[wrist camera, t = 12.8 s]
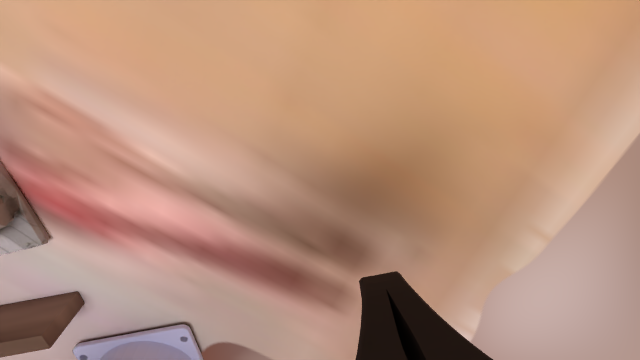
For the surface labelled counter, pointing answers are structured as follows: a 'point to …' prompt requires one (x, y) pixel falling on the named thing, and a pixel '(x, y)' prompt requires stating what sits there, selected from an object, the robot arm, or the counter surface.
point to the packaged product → (17, 219)
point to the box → (36, 322)
